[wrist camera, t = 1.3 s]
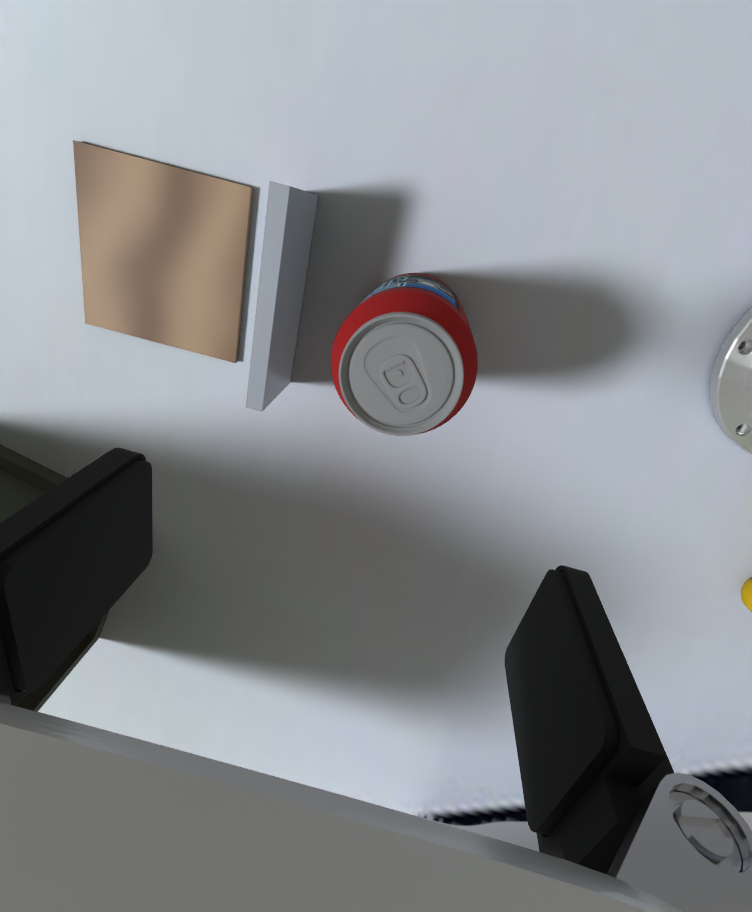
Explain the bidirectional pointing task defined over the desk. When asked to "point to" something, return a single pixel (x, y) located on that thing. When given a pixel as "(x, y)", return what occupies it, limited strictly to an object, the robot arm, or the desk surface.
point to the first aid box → (3, 494)
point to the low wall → (280, 291)
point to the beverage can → (405, 356)
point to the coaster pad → (162, 251)
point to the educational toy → (747, 594)
